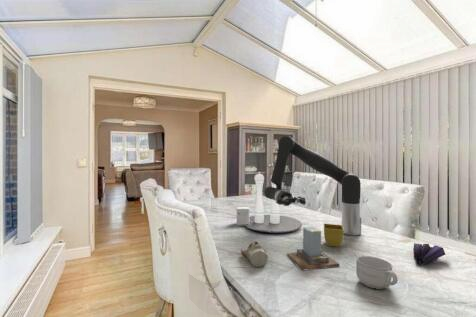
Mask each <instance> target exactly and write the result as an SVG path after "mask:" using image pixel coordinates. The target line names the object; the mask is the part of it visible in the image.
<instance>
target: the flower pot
mask: <svg viewBox="0 0 476 317" xmlns="http://www.w3.org/2000/svg"><path fill="white" fill-rule="evenodd" d="M343 232H344V230H343V226H342V224H333V223H323V233H324V234H323V235H324V241H325V243H326V245H327V246H328V247H335V248H336V247H337V248H339V247H340V246H341V244H342V242H343V237H344V233H343Z"/></svg>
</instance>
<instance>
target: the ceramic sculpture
mask: <svg viewBox="0 0 476 317" xmlns="http://www.w3.org/2000/svg"><path fill="white" fill-rule="evenodd" d="M246 248H247V249H246V250H243V249H241V250H240V254H241V256H242V257H244V258H246V259H249V262H250V263H251V265H252V266H253V267H256V268H260V267H264V266H265V265H266V264H267V262H268V260H269V256H268V254H267V251H266V249H265V248H263V246H262V244H260V243H259V242H258V241H254V242H252V243H250V244H248V246H247V247H246Z"/></svg>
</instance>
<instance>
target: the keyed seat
mask: <svg viewBox="0 0 476 317" xmlns="http://www.w3.org/2000/svg"><path fill="white" fill-rule="evenodd" d="M286 255H287V257H289V259H290V260H291V261H292V262H293V263H294V264H295V263H296V264H297V265H298V266H299V267H300V268H301V269H302V270H301V269H300V268H299V267H298V266H297V265H296V264H295V265H296V266H297V267H298V268H299V269H300V270H301V271H304V270H303V269H308V270H315V268H318V269H325V267H327V268H335V267H340V263H339V262H338V261H336V260H335V259H334V258H332V257H331V256H330V255H328V254H326V253H325V252H324V251H322V250H321V256H319V257H313V258H309V257H308V256H307V255H306V254H304V253H303V248H298V249H296V252H286Z"/></svg>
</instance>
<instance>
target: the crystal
mask: <svg viewBox="0 0 476 317" xmlns="http://www.w3.org/2000/svg"><path fill="white" fill-rule="evenodd" d="M412 249H413V251H412V252H413V259H414V260H415V261H416V262H417V264H418V265H419V266H423V265H425V264H429V263H431V262H433V261H435V260H437V259H439V258H441V257H443V256H445V255H446V252H445V249H444V248H443V247H442V246H439V245H434V246H430V244H429V243H423V244H422V243H415V242H414V243H413V248H412Z"/></svg>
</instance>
